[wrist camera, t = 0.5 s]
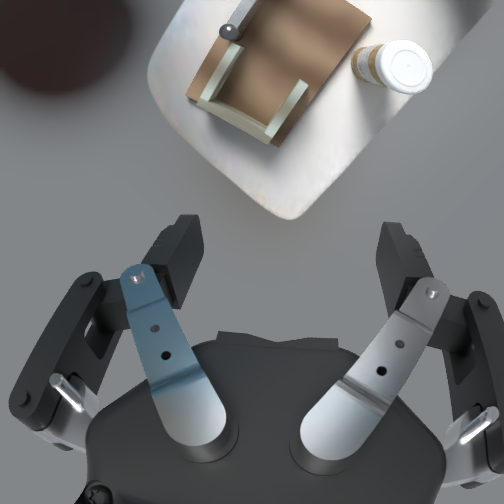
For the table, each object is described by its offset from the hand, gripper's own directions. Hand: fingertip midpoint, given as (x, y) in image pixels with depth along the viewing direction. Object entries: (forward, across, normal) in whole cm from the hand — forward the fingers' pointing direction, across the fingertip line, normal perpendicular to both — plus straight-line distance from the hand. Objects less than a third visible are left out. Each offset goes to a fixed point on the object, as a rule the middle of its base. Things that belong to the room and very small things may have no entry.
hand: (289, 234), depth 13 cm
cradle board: (+26, +2, -8) cm, 27 cm away
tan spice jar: (+26, -9, -7) cm, 28 cm away
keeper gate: (+24, +4, -14) cm, 28 cm away
